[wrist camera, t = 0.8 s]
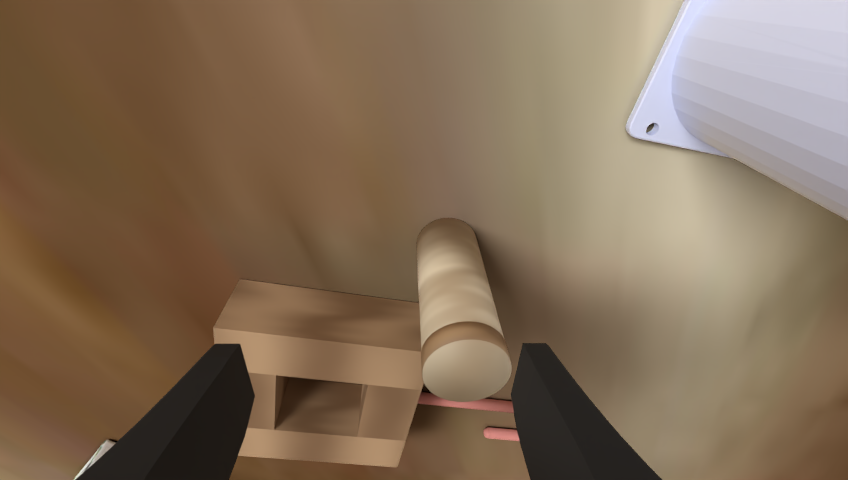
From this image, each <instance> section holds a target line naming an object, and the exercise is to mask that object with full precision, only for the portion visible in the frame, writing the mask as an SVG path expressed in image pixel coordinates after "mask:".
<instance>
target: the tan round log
mask: <svg viewBox="0 0 848 480" xmlns="http://www.w3.org/2000/svg"><path fill="white" fill-rule="evenodd" d="M417 266H418V288H419V310H420V331H421V366H422V378H423V381H424V384H425V385H426V387H427V388H428V389H429V391H431V392H432V393H433V394H434V395H436V396H438V397H440V398H442V399H445V400H449V401H455V402H470V401H476V400H480V399H484V398H486V397H489V396H491V395H493V394H495V393H496V392H498V391H499V390H500V389H502V388H503V387H504V386H505V384H506V383H507V382H508V380H509V378H510V376H511V371H512V364H511V359H510V356H509V352H508V349H507V345H506V342H505V339H504V336H503V333H502V329H501V326H500V322H499V318H498V315H497V311H496V308H495V304H494V300H493V297H492V293H491V290H490V286H489V282H488V279H487V275H486V272H485V268H484V264H483V261H482V257H481V254H480V250H479V246H478V243H477V239H476V236H475V233H474V231H473V229H472V228H471V227H470V226H469V225H468V224H466V223H465V222H463V221H461V220H458V219H454V218H442V219H438V220H435V221H433V222H431V223H429V224H428V225H426V226H425V227H424V228H423V229H422V230H421V232H420V233H419V235H418V238H417Z"/></svg>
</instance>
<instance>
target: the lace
mask: <svg viewBox="0 0 848 480" xmlns="http://www.w3.org/2000/svg"><path fill="white" fill-rule="evenodd" d="M417 404H427V405H438V406H448V407H458V408H468V409H479V410H489V411H499V412H510V413H514V410H513V404H512V401H504V400H494V399H480V400H476V401H470V402H455V401H449V400H445V399H442V398H440V397H438V396H436V395H434V394H433V393H425V392H421V394H420V397H419V400H418V403H417ZM484 436H485V437H486V438H491V439H502V440H514V441H520V440H519V437H518V433H517V430H513V429H502V428H491V427H487V428H485V429H484Z"/></svg>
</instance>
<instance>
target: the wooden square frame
mask: <svg viewBox="0 0 848 480" xmlns="http://www.w3.org/2000/svg"><path fill="white" fill-rule="evenodd" d="M213 331H214V343H215V344H240V345H241V348H242V352H243V355H244V359H245V362H246V366H247V370H248V373H249V377H250V380H251V384H252V387H253V391H254V394H255V398H254V402H253V407H252V411H251V415H250V419H249V423H248V426H247V430H246V434H245V438H244V440H243V443H242V446H241V448H240V451H239V454H238V456H251V457H264V458H278V459H291V460H305V461H319V462H332V463H346V464H359V465H373V466H386V467H397V466H398V463H399V460H400V457H401V454H402V451H403V447H404V444H405V441H406V438H407V435H408V432H409V428H410V425H411V422H412V419H413V416H414V413H415V409H416V406H417V403H418V400H419V397H420V394H421V391H422V387H423V384H424V381H423V378H422V366H421V331H420V310H419V303H416V302H408V301H401V300H393V299H385V298H378V297H370V296H363V295H355V294H348V293H340V292H333V291H325V290H318V289H310V288H303V287H295V286H288V285H280V284H273V283H265V282H258V281H250V280H243V279H240V280H239V281H238V283H237V285H236V287H235V289H234V291H233V292H232V294H231V296H230V298H229V300H228V302H227V303H226V305H225V307H224V309H223V311H222V313H221V314H220V316H219V318H218V320H217V322H216V324H215V325H214V327H213ZM290 377H297V378H290ZM300 378H307V379H300ZM310 379H317V380H310ZM320 380H327V381H320ZM330 381H337V382H330ZM339 382H346V383H339ZM349 383H356V384H349ZM359 384H363V385H359Z"/></svg>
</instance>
